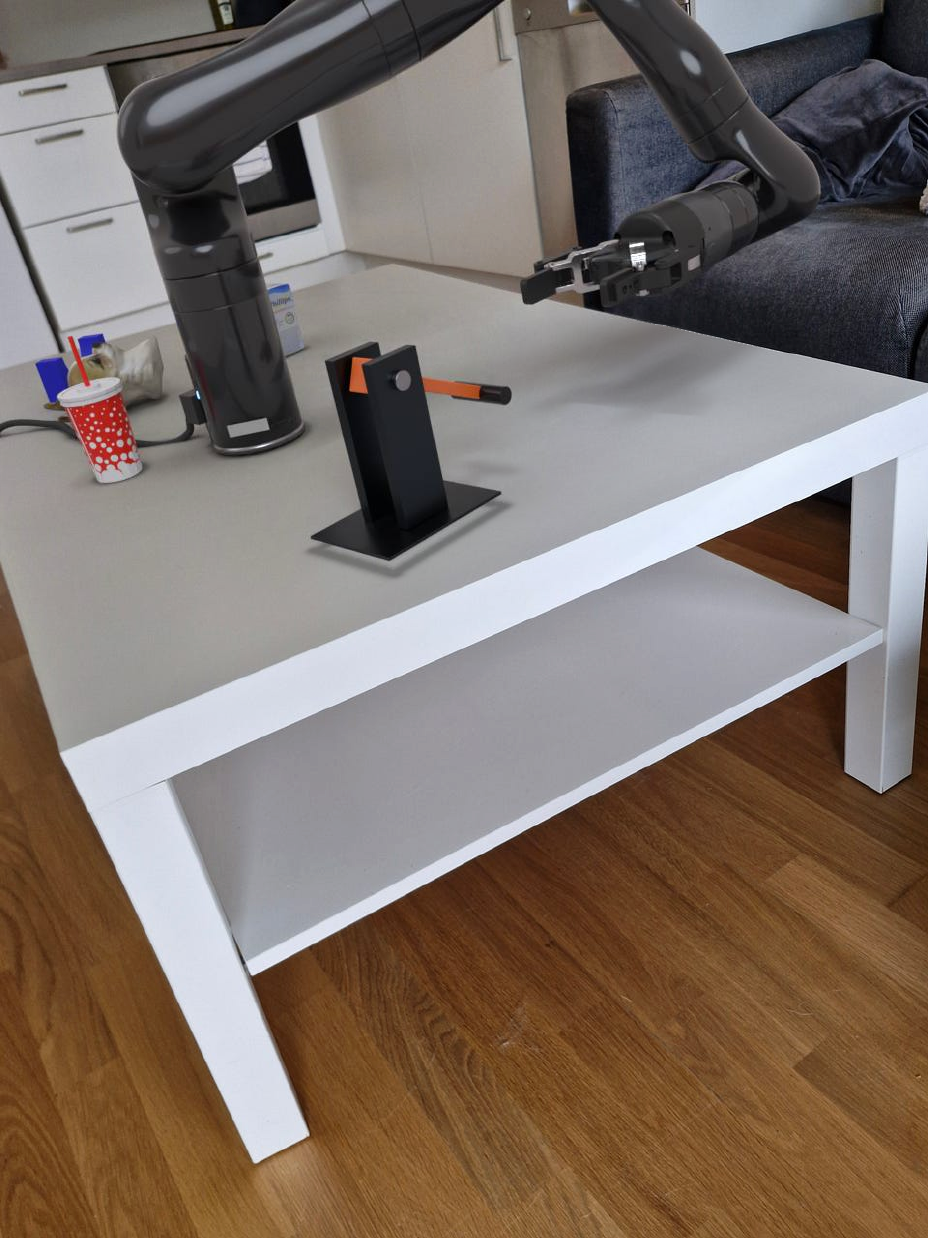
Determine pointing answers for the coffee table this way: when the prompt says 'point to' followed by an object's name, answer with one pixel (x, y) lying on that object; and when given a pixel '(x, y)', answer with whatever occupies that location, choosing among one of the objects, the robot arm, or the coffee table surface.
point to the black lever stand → (392, 457)
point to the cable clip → (62, 368)
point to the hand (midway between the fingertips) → (562, 293)
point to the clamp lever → (442, 387)
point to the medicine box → (285, 317)
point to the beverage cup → (102, 425)
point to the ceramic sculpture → (120, 371)
